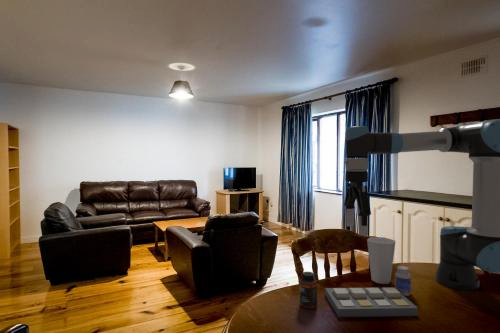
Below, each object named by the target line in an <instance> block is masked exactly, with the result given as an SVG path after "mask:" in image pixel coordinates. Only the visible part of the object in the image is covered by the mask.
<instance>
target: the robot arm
mask: <svg viewBox="0 0 500 333" xmlns="http://www.w3.org/2000/svg"><path fill="white" fill-rule="evenodd" d="M345 131H346V132H345V141H344V142H345V160H344V162H343V163H344V164H345V170H346V171H345V181H346V182H347V183H346V190H345V191H346V192H345V198H344V204H343V205H344V207H345V211H346V212H345V215H346V216H345V221H346V222H345V223H346V224H345V225H346V226H345V227H354V226H355V209H356V207H355V203H356V202H357V207H358V211H359V212H358V214H357V217H358V236H368V235H369V230H368V229H369V218H368V217H369V216H371V214H372V212H371V204H370V199H369V194H368V185H364V183H367V182H368V181H369V172H368V170H369V155H382V154H383V155H392V154H393V155H394V154H395V155H396V154H400V153H408V152H409V153H411V152H425V151H439V152H441V153H451V152H452V153H461V154H462V153H463V154H468V159H469V160H471V162H473V167H472V168H473V170H472V195H471V196H472V197H471V198H472V202H471V204H472V205H471V207H472V208H471V226H470V227H469V226H453V225H452V226H451V225H450V226H448V225H447V226H443V227H441V228H440V233H439V239H440V240H439V243H440V245H439V252H440V253H439V263H438V266H437V269H436V271H435V273H434V279H435V281H436V283H439V284H440V285H443V286H446V287H449V288H451V289H452V288H453V289H457V290H461V291H462V290H464V291H473V290H474V291H475V290H478V289H479V288H480V279H479V276H478V273H477V271H476V268H478V269H480V270H481V271H485V272H488V273H493V274H500V119H488V120H483V121H478V122H471V123H470V122H469V123H465V124H460V125H457V126H452V127H446V128H445V127H444V128H440V129H438V130H436V131H435V130H434V131H422V132H420V131H419V132H405V133H403V132H401V133H398V132H393V131H391V132H370V131H369V127H368V126H366V125H365V126H362V125H360V126H359V125H358V126H357V125H355V126H349V127H347V128H346V130H345ZM475 267H476V268H475Z"/></svg>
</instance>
